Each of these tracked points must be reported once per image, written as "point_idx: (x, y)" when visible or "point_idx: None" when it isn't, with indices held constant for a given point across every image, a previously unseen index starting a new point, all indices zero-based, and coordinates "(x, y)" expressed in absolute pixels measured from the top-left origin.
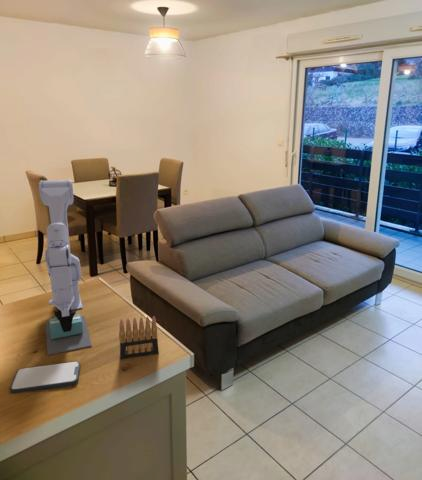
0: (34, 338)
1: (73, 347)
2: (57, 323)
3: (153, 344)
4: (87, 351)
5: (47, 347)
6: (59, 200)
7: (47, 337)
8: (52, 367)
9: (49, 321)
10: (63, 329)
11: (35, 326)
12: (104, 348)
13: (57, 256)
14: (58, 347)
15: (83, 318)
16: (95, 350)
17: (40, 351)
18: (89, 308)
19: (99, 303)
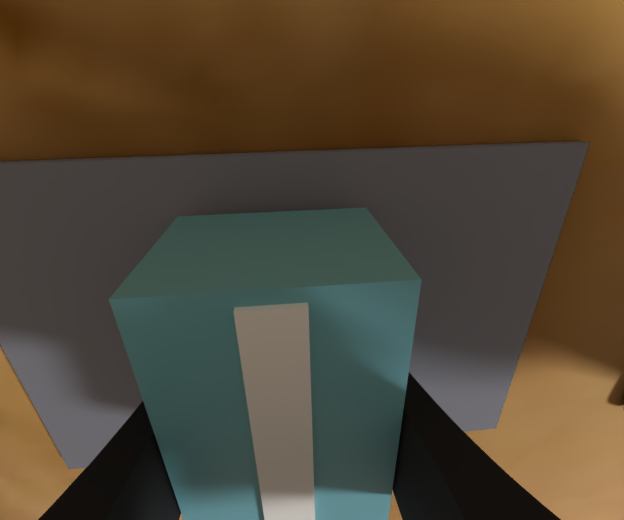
0: (328, 3)
1: (42, 377)
2: (229, 391)
3: None
4: (9, 440)
5: (56, 168)
6: None
7: (268, 166)
8: None
9: (342, 286)
10: (142, 409)
11: (605, 16)
12: (44, 509)
13: None
14: (50, 271)
15: (462, 424)
16: (21, 475)
17: (12, 84)
18: (584, 440)
19: (602, 481)
